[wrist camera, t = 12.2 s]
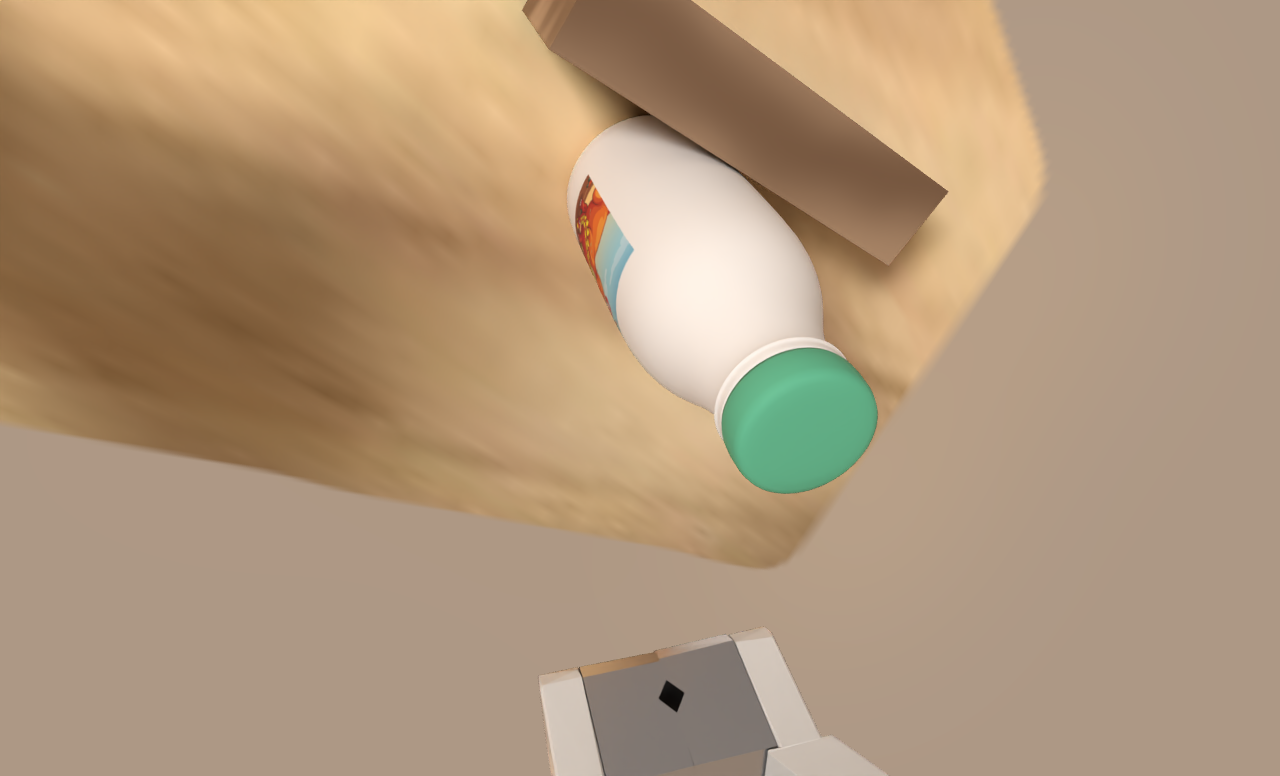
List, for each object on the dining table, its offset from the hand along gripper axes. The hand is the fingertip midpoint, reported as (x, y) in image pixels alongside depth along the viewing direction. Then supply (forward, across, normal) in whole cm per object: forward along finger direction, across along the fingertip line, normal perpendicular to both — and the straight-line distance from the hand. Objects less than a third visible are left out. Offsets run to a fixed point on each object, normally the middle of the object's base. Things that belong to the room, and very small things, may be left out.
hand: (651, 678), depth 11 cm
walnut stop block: (+31, -11, +1) cm, 33 cm away
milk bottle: (+31, -8, +6) cm, 33 cm away
